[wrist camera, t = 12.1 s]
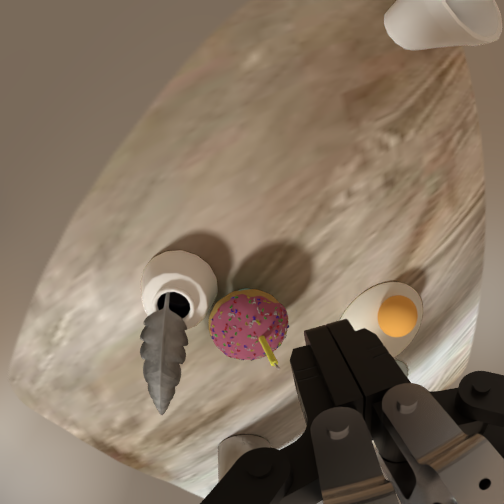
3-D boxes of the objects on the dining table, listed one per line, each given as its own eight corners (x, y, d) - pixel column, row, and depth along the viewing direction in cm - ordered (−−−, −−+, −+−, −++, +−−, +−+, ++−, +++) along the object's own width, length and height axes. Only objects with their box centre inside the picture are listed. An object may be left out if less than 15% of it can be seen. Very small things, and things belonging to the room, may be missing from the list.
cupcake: (279, 270, 37) (303, 326, 25) (282, 331, 40) (302, 396, 28) (204, 278, 36) (198, 338, 25) (215, 339, 39) (214, 407, 28)
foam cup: (445, 42, 28) (512, 24, 16) (409, 74, 30) (480, 58, 18) (399, -13, 26) (456, -50, 13) (357, 14, 27) (414, -29, 15)
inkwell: (223, 254, 35) (223, 295, 26) (207, 376, 41) (205, 430, 32) (142, 244, 34) (115, 281, 25) (141, 367, 40) (127, 420, 31)
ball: (411, 347, 36) (417, 326, 33) (373, 341, 39) (374, 320, 35) (417, 312, 40) (422, 289, 36) (380, 307, 42) (381, 284, 38)
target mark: (393, 369, 44) (393, 370, 44) (318, 359, 42) (319, 359, 42) (436, 294, 40) (437, 294, 40) (363, 270, 38) (364, 270, 38)
